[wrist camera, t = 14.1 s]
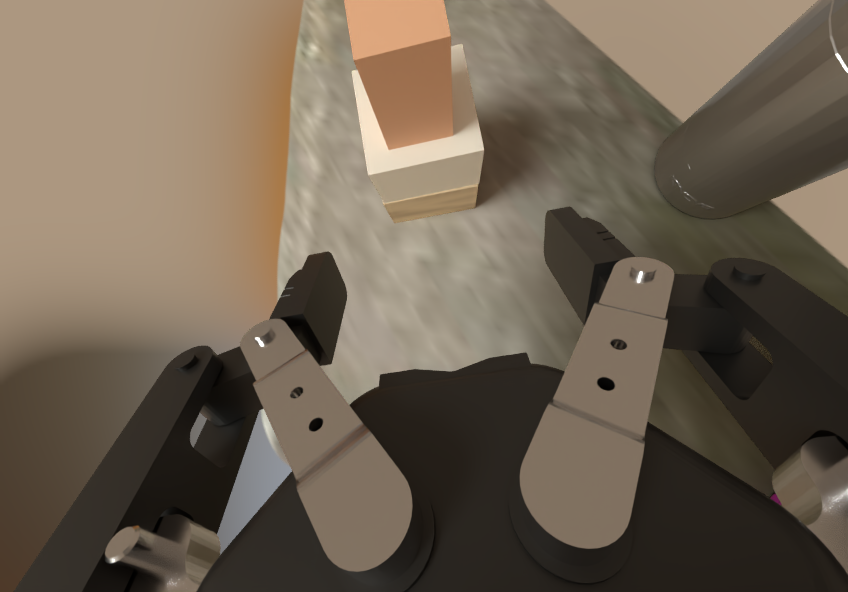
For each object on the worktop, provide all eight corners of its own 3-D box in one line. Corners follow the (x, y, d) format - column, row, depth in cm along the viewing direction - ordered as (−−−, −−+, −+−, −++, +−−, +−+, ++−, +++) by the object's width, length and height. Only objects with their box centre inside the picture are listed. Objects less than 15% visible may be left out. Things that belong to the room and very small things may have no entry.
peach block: (378, 91, 23) (340, -25, 15) (441, 76, 22) (433, -50, 15) (388, 150, 22) (353, 60, 15) (453, 135, 22) (450, 36, 14)
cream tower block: (370, 116, 28) (351, 71, 23) (461, 95, 27) (462, 43, 22) (384, 203, 27) (368, 175, 22) (479, 183, 26) (484, 150, 22)
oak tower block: (383, 148, 33) (370, 117, 28) (461, 132, 32) (461, 97, 27) (394, 223, 32) (383, 204, 27) (474, 208, 31) (478, 186, 26)
